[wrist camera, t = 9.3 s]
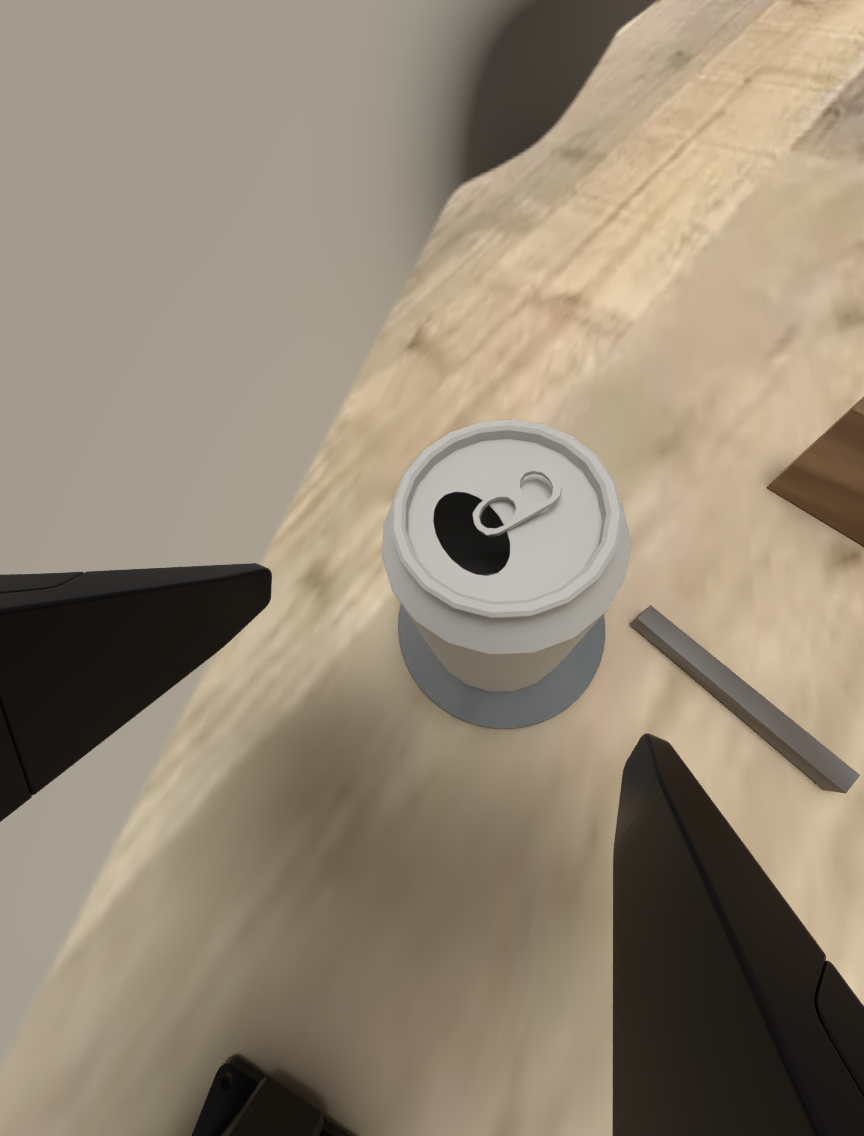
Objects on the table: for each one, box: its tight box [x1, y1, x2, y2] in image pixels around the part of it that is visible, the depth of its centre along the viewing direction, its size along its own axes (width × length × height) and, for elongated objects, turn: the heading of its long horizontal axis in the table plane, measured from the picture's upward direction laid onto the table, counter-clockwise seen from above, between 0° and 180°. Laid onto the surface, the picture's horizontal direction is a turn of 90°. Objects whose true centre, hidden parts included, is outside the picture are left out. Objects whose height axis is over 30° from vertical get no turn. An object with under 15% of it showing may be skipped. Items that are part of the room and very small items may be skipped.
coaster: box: [398, 604, 605, 729], centre depth 22 cm, size 11×11×1 cm
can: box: [382, 419, 631, 692], centre depth 16 cm, size 8×8×12 cm
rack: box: [630, 397, 864, 793], centre depth 18 cm, size 14×10×6 cm
